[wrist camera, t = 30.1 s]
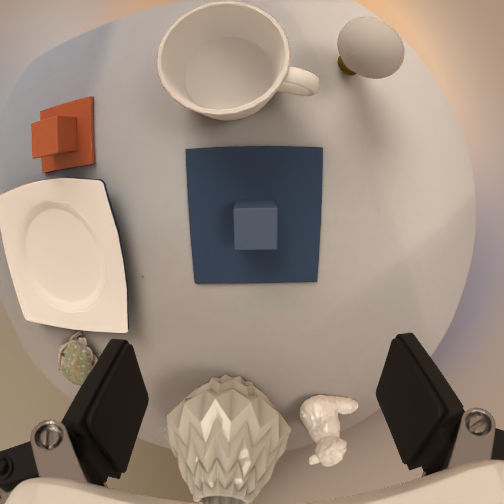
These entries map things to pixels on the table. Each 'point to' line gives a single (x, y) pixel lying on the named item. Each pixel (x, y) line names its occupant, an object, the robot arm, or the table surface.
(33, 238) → the plate
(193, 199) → the navy blue mat
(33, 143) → the terracotta block
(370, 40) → the light bulb
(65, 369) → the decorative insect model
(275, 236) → the slate block
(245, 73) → the mug
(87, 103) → the terracotta tile
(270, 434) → the vase
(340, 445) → the sitting furry creature
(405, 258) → the table surface
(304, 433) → the table surface
